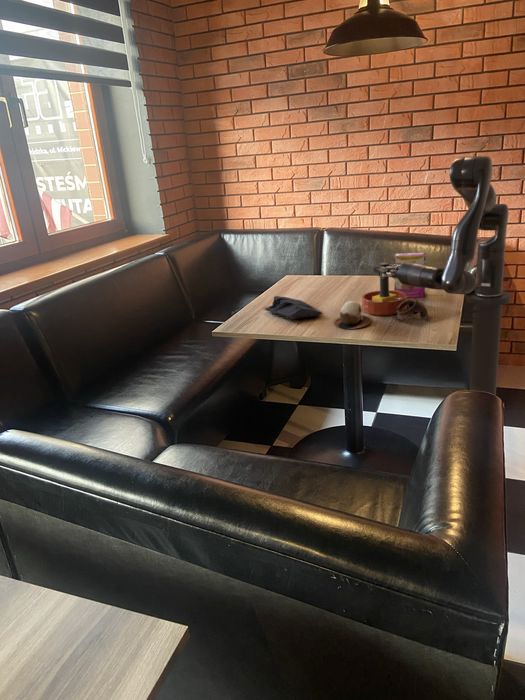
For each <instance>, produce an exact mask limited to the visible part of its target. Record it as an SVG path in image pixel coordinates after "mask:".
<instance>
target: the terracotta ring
mask: <svg viewBox="0 0 525 700" xmlns="http://www.w3.org/2000/svg"><path fill="white" fill-rule="evenodd" d="M389 293H391V294H395V295H397V300H395V301H388V302H377V301H372V297H373V296H376V295H380V290H373V291H369V292H366V293H364V294H362V295H361V309H362V312H365V313H367V314H369V315H374V316H391V315H392V316H393V315H398V313H397V310H398V309H397V308H398V306H399V305H400V304H401V303H402V302H404V301H406V300H408V298H407V294H405V293H404V292H400V291H395V289H389ZM406 310H408V304H407V305H406V306H404V307H403V308H402V309H401V310H400V312H403V311H406Z"/></svg>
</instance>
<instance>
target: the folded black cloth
mask: <svg viewBox="0 0 525 700" xmlns="http://www.w3.org/2000/svg"><path fill="white" fill-rule="evenodd" d="M271 304H272V305H269V306H266V307H265V308H264V310H266V311H268V312H270V313H272V314H274V315H277V316H280V317H282V318H286V319H287V320H298V319H304V318H305V319H306V318H312V317H313V318H314V317H318V316H321V315H322V314H323V313H322V312H321V311H319V310H317V309H315V308H314V307H312V306H311V305H310V304H308V303H306V302H305V301H302V299H301V300H300V299H295V298H291V297H286V296H278V295H275V296H273V301H272V303H271Z"/></svg>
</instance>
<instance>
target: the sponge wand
mask: <svg viewBox="0 0 525 700" xmlns="http://www.w3.org/2000/svg"><path fill="white" fill-rule="evenodd" d="M389 265H390V264H389V262H380V263H379V267H388V266H389ZM385 271H386V270H385ZM389 290H390V277H387V279H383V278H381V277H379V291H380V295H376V296H373V297H372V301H377V302H388V301H395V300H397V295H395V294H391V293H389Z"/></svg>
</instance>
